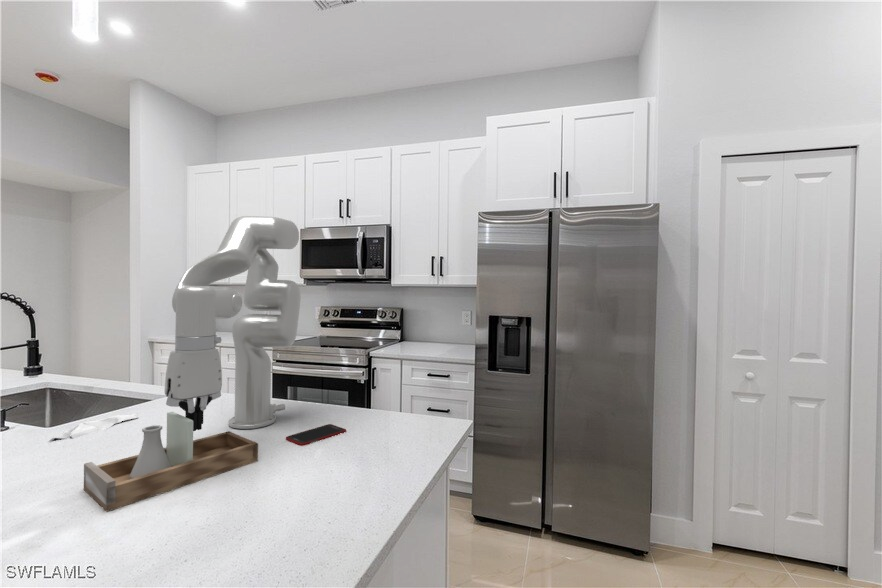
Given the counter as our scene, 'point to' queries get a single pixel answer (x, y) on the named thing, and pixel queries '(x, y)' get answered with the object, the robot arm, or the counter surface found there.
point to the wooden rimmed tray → (167, 471)
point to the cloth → (94, 426)
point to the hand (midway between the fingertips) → (194, 428)
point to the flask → (150, 453)
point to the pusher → (179, 439)
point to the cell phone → (315, 434)
